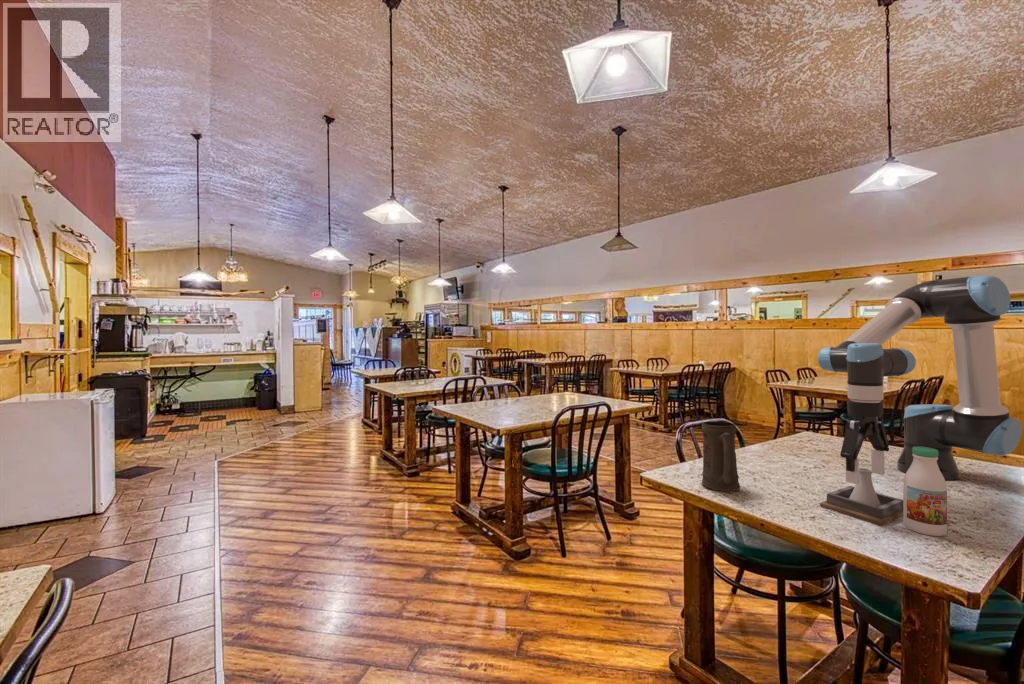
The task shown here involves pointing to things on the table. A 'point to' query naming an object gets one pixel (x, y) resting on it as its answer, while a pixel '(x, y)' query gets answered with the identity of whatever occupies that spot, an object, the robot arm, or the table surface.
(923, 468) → the milk bottle
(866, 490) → the flask
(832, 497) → the rectangular tray
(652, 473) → the table surface
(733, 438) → the beer stein
